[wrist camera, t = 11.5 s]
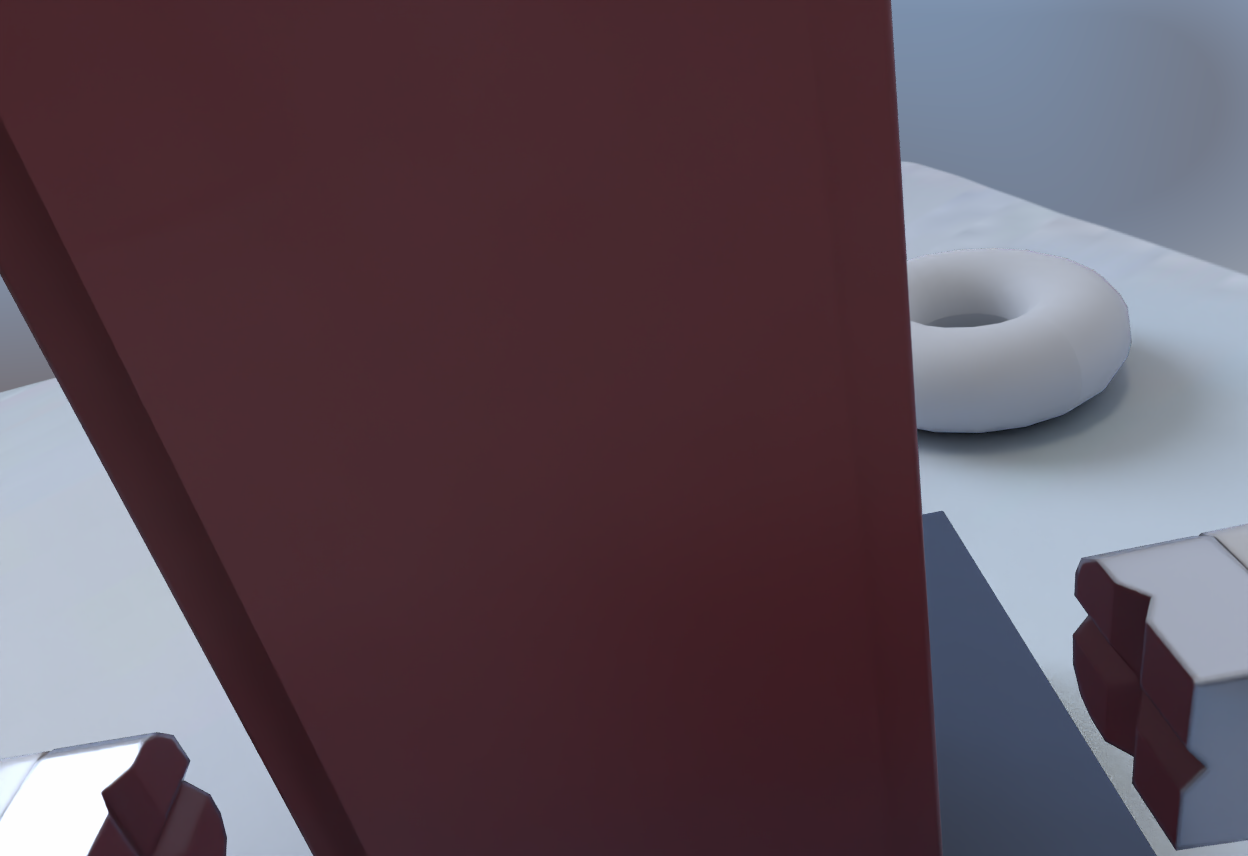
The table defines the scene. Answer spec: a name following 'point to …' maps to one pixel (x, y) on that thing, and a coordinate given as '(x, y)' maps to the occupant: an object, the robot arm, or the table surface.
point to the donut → (1009, 337)
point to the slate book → (1007, 730)
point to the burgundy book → (505, 401)
